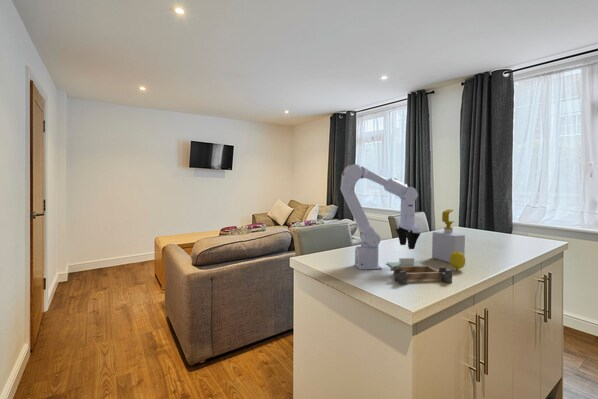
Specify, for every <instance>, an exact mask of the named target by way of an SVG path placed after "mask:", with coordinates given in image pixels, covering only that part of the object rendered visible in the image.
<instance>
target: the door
mask: <svg viewBox="0 0 598 399" xmlns="http://www.w3.org/2000/svg"><path fill="white" fill-rule="evenodd" d="M398 259H399V261H397V262H396V261H395V262H393V261H392V262H386V265H387V266H389V267H390V268H391V269H390V270H391V271H392V272H394V267H398V266H425V265H424V264H422V263H421V262H418V261H415V257H399V258H398Z"/></svg>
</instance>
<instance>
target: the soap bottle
mask: <svg viewBox="0 0 598 399" xmlns="http://www.w3.org/2000/svg"><path fill="white" fill-rule="evenodd" d="M452 212H454V209H446V210H444V211H442V213H441V216H442V217H441V220H442V223H444V224H445V226H444V227H443V230H437V231H432V240H431V242H432V244H431V245H432V246H431V259H435V260H438V261H442V262H446V263H448V264H450V256H451V254H452V253H453V252H456V251H459V252H461V253H462V254H463V255H464V256H466V255H465V252H466V251H465V248H466V244H465V243H466V235H465V234H462V233H457V232H456V233H455V232H453V231H454V228H453V227H452V226H451V225H453V223H455V222H454V220H453V221H452V220H450V213H452Z"/></svg>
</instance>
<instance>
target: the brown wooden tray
mask: <svg viewBox="0 0 598 399" xmlns="http://www.w3.org/2000/svg"><path fill="white" fill-rule="evenodd" d="M393 275H394V281H395V282H396V283H397V284H399V285H400V286H402V285H408V283H415V282H416V283H419V282H423V283H424V282H442V283H444V284H453V270H452V269H447V267H446V266H439V267H438V269H436V268H434V267H432V266H430V265H424V266H398V267H394V271H393Z"/></svg>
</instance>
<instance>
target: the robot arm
mask: <svg viewBox="0 0 598 399" xmlns="http://www.w3.org/2000/svg"><path fill="white" fill-rule="evenodd" d="M360 179H361V180H362V179H367V180H369V181H371V182H374V183H375V184H378V185H381V186H383V188H384V191H386V192H387V193H390V194H392V195H394V196H396V197H399V199H400V216H399V218H400V222H398V223H397V228H395V232H396V234H397V237H398V241H399V244H400V246H406V244H407V247H408V249H409V250H415V247H416V245H417V242H418V239H419V237H420V236H421V232H419V227H418V225H416V224H415V223H416V200H417V198H418V196H419V193H418V192H417V189H416V188H415V187H413V186H408V183H404V182H403V183H402V182H401V181H399V180H398V178H396V177H393V178H392V177H391V178H386V177H385V176H382V175H380V174H379V173H376V172H375V171H373V170H371V169H369V168H367V167H364V166H360V165H359V164H355V163H354V164H351V165H347V166H345V167H344V169H343V171H342V173H341V180H340V191H341V194H342V196H343V198H344V200H345V202H346V205H347V207H348V208H349V211H350V213H351V214H352V217H353V219H354V221H355V223H356V225H357V227H358V228H357V229H358V232H359V237H360V240H361V241H362V242H361V243H360V245H359V246H358V245H357V246H355V249H354V266H356V267H357V269H359V270H382V266H380V265H379V250H380V249H379V245H380V243H381V236H380V235H379V233H377V232H376V231H375V229H374V227H373V226H372V224H371V222H370V221H369V219H368V216H367V215H366V213H365V210H364V209H363V207H362V205H361V202H360V200H359V199H358V197H357V194H356V192H355V189H354V188H355V187H356V185H357V182H358V181H359V180H360Z"/></svg>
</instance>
